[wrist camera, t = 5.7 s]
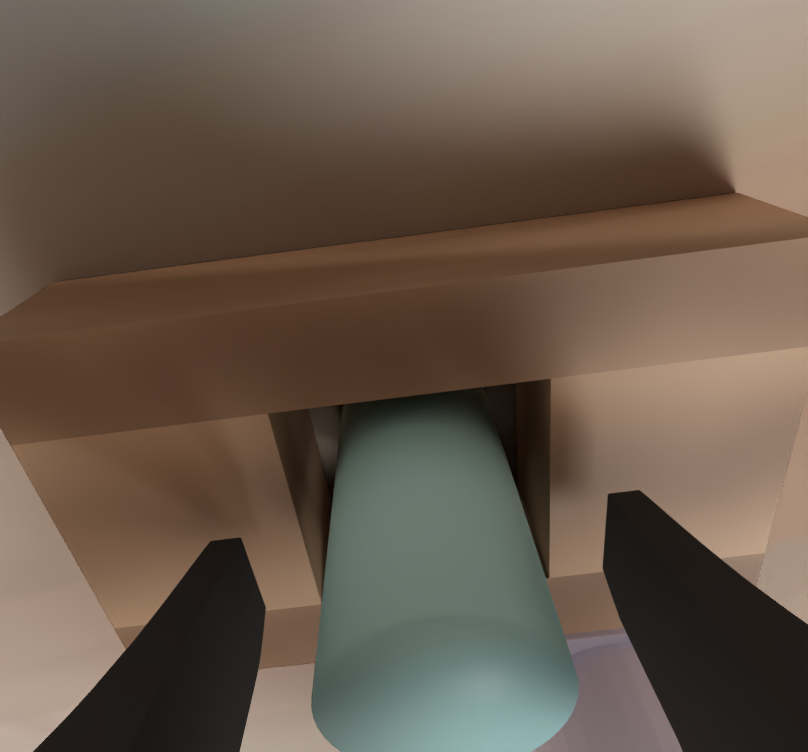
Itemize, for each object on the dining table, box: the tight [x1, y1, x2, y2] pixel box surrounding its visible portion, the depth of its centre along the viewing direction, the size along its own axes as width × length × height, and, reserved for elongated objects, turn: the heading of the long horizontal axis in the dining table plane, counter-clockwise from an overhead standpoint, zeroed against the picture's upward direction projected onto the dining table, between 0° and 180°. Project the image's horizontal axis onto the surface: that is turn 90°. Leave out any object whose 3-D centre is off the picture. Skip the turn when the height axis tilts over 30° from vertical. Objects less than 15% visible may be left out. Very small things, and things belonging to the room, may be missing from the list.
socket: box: [0, 193, 808, 669], centre depth 14 cm, size 10×16×4 cm, turn 97°
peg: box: [312, 387, 579, 752], centre depth 12 cm, size 4×4×8 cm
